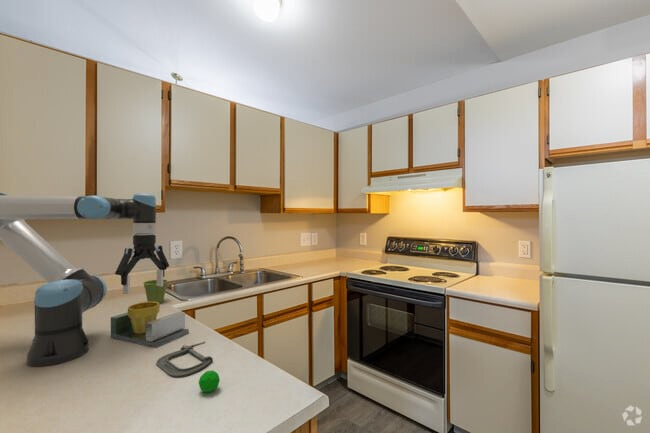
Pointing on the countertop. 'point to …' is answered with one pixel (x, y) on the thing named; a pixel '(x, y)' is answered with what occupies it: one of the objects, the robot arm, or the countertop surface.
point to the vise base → (124, 331)
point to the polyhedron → (209, 381)
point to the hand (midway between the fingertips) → (144, 289)
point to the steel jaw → (165, 326)
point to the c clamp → (179, 372)
